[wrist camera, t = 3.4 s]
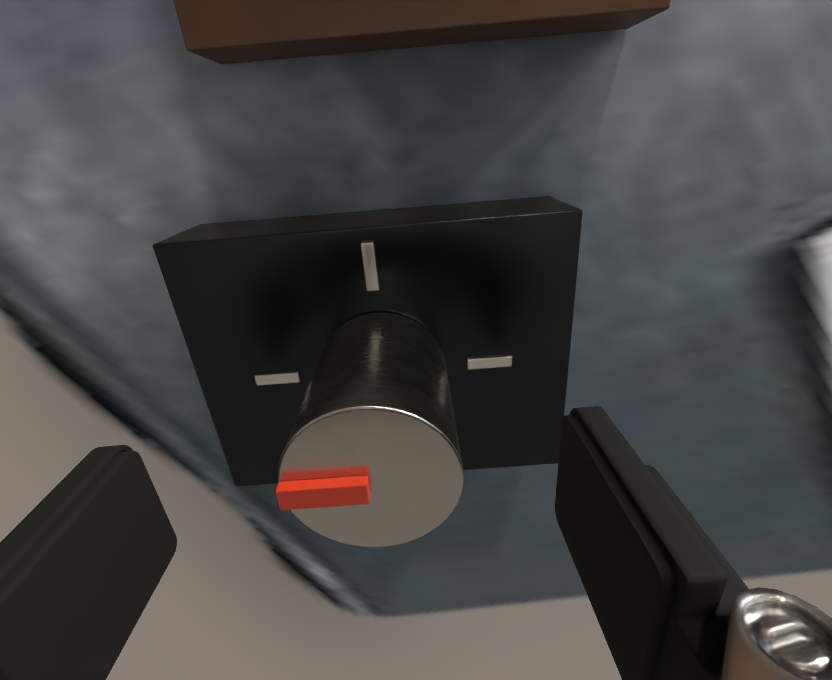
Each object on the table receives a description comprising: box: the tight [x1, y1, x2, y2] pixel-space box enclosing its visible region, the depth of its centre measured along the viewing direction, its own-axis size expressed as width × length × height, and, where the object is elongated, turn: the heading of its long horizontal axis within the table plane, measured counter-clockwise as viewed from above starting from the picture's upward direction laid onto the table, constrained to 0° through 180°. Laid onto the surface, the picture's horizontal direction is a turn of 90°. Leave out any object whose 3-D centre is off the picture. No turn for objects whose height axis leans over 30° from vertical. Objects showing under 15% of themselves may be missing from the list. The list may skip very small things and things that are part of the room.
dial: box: [275, 313, 464, 547], centre depth 11 cm, size 4×4×5 cm
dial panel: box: [153, 196, 582, 486], centre depth 15 cm, size 12×9×3 cm
